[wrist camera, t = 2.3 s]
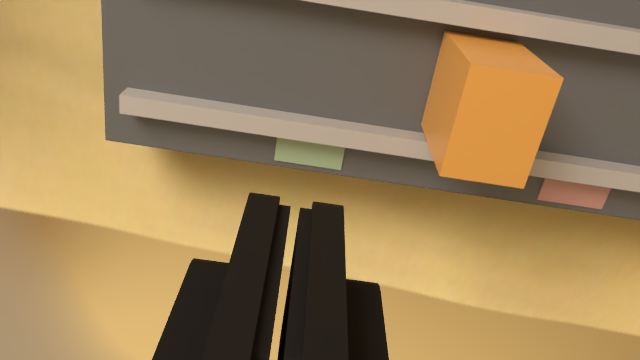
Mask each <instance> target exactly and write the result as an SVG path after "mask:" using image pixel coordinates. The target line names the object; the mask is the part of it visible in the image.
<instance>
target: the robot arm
mask: <svg viewBox="0 0 640 360" xmlns="http://www.w3.org/2000/svg"><path fill="white" fill-rule="evenodd" d="M279 201H280V197H278V196H271V195H264V194H257V193H249V196H248V200H247V203H246V206H245V210H244V213H243V217H242V220H241V224H240V227H239V231H238V234H237V238H236V241H235V245H234V248H233V252H232V255H231V259H230V262H229V263H224V262H216V261H209V260H202V259H193V260H192V261H191V263H190V265H189V268H188V270H187V273H186V275H185V278H184V280H183V283H182V285H181V288H180V290H179V293H178V295H177V298H176V300H175V303H174V305H173V308H172V311H171V313H170V316H169V318H168V321H167V323H166V326H165V328H164V331H163V333H162V336H161V338H160V341H159V343H158V346H157V349H156V351H155V354H154V356H153V359H152V360H269V357H270V350H271V343H272V335H273V328H274V321H275V314H276V307H277V299H278V293H279V286H280V279H281V271H282V264H283V257H284V250H285V243H286V236H287V229H288V222H289V215H290V207H291V206H285V205H279ZM278 360H389V358H388V350H387V342H386V333H385V324H384V316H383V308H382V299H381V291H380V286H379V285H378V283H371V282H364V281H357V280H349V279H346V266H345V236H344V208H343V206H341V205H334V204H327V203H320V202H313V204H312V209H306V208H300V212H299V219H298V225H297V232H296V238H295V245H294V251H293V258H292V264H291V270H290V277H289V284H288V290H287V296H286V303H285V309H284V316H283V323H282V330H281V336H280V345H279V352H278Z"/></svg>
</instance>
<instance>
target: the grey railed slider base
mask: <svg viewBox="0 0 640 360" xmlns="http://www.w3.org/2000/svg"><path fill="white" fill-rule="evenodd" d="M101 7H102V39H103V71H104V103H105V135H106V140H109V141H115V142H122V143H129V144H135V145H142V146H149V147H155V148H162V149H169V150H175V151H182V152H189V153H195V154H202V155H209V156H215V157H222V158H229V159H236V160H242V161H249V162H256V163H262V164H269V165H276V166H282V167H289V168H296V169H302V170H309V171H316V172H322V173H329V174H336V175H342V176H349V177H356V178H362V179H369V180H376V181H382V182H389V183H396V184H402V185H409V186H416V187H422V188H429V189H436V190H442V191H449V192H456V193H462V194H469V195H476V196H482V197H489V198H496V199H502V200H509V201H516V202H522V203H529V204H536V205H542V206H549V207H556V208H562V209H569V210H576V211H582V212H589V213H596V214H602V215H609V216H616V217H622V218H629V219H636V220H640V0H101ZM445 30H446V31H452V32H459V33H465V34H471V35H477V36H483V37H490V38H496V39H502V40H508V41H514V42H519V43H521V44H522V45H523V46H524V47H526V48H527V49H528V50H529V51H531V52H532V53H533V54H534V55H536V56H537V57H538V58H539V59H541V60H542V61H543V62H544V63H545V64H547V65H548V66H549V67H550V68H552V69H553V70H554V71H555V72H557V73H558V74H559V75H560V76H562V77H563V78H564V80H563V82H562V85H561V88H560V91H559V93H558V96H557V99H556V102H555V104H554V107H553V110H552V113H551V115H550V118H549V121H548V124H547V126H546V129H545V132H544V135H543V137H542V140H541V143H540V145H539V148H538V151H537V154H536V156H535V159H534V162H533V165H532V167H531V170H530V173H529V176H528V178H527V181H526V184H525V187H524V189H521V188H515V187H508V186H502V185H495V184H488V183H482V182H475V181H468V180H462V179H455V178H449V177H442V176H439V174H438V171H437V168H436V165H435V163H434V160H433V157H432V154H431V151H430V148H429V146H428V143H427V140H426V137H425V134H424V131H423V129H422V126H421V122H422V118H423V114H424V110H425V106H426V103H427V99H428V95H429V91H430V87H431V83H432V79H433V75H434V71H435V67H436V63H437V59H438V55H439V51H440V47H441V43H442V39H443V35H444V31H445Z"/></svg>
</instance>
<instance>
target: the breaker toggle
mask: <svg viewBox="0 0 640 360" xmlns="http://www.w3.org/2000/svg"><path fill="white" fill-rule="evenodd" d="M563 80H564V78H563V77H562V76H560V75H559V74H558V73H557V72H555V71H554V70H553V69H552V68H550V67H549V66H548V65H547V64H545V63H544V62H543V61H542V60H541V59H539V58H538V57H537V56H536V55H534V54H533V53H532V52H531V51H529V50H528V49H527V48H526V47H524V46H523V45H522V44H521V43H519V42H514V41H508V40H502V39H496V38H490V37H483V36H477V35H471V34H465V33H459V32H452V31H446V30H445V31H444V35H443V39H442V43H441V47H440V51H439V55H438V59H437V63H436V67H435V71H434V75H433V79H432V83H431V87H430V91H429V95H428V99H427V103H426V106H425V110H424V114H423V118H422V122H421V126H422V129H423V131H424V134H425V137H426V140H427V143H428V146H429V148H430V151H431V154H432V157H433V160H434V163H435V165H436V168H437V171H438V174H439V176H442V177H449V178H455V179H462V180H468V181H475V182H482V183H488V184H495V185H502V186H508V187H515V188H521V189H524V187H525V184H526V181H527V178H528V176H529V173H530V170H531V167H532V165H533V162H534V159H535V156H536V154H537V151H538V148H539V145H540V143H541V140H542V137H543V135H544V132H545V129H546V126H547V124H548V121H549V118H550V115H551V113H552V110H553V107H554V104H555V102H556V99H557V96H558V93H559V91H560V88H561V85H562V82H563Z"/></svg>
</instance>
